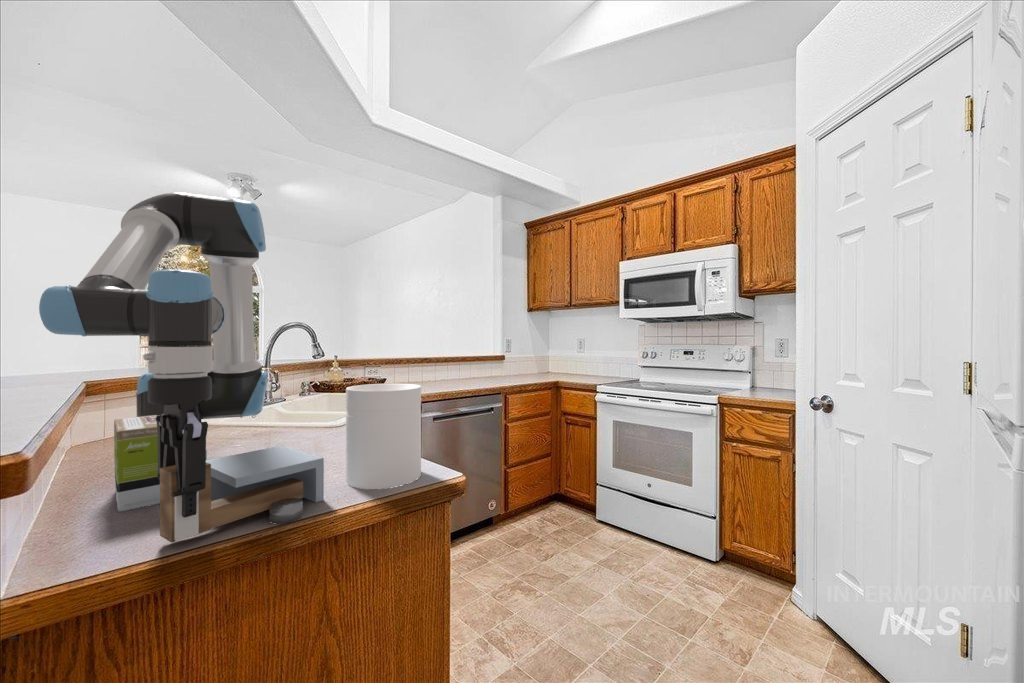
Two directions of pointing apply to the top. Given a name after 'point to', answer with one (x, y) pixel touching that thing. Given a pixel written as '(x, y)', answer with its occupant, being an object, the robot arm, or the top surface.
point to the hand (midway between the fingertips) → (180, 532)
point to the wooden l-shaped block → (221, 501)
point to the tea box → (136, 462)
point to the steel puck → (286, 510)
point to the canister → (383, 435)
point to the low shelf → (267, 472)
